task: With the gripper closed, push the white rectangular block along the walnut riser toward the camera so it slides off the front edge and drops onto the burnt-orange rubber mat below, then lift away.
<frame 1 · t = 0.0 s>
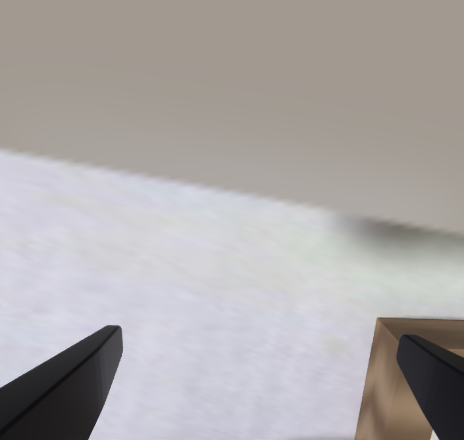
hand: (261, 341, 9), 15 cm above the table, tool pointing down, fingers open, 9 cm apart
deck: (431, 399, 27), on the table
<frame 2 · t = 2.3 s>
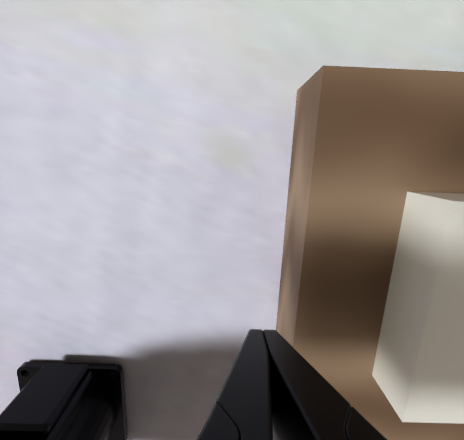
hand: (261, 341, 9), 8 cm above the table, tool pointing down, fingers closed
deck: (400, 259, 16), on the table
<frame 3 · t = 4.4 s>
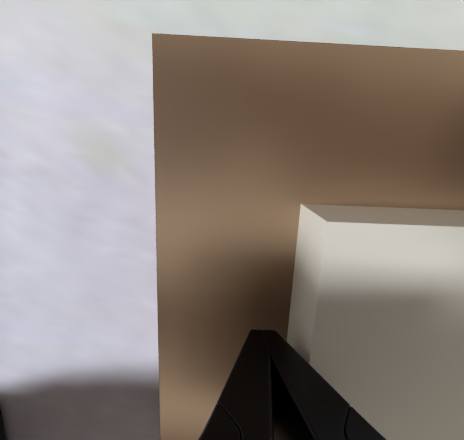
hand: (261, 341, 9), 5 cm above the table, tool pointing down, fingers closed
white rectangular block: (390, 355, 9), point 5 cm above the table, touching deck, gripper
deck: (318, 279, 14), on the table
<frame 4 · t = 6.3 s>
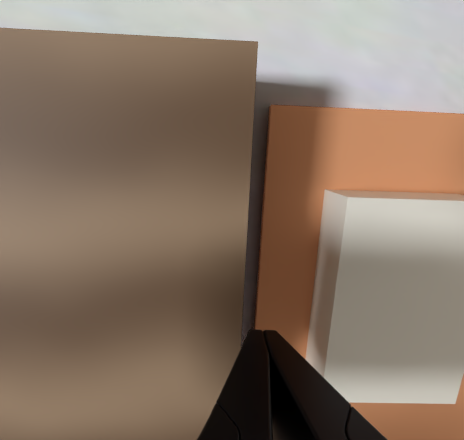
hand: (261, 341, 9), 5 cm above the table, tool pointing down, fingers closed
mat: (391, 299, 14), on the table
white rectangular block: (389, 296, 12), point 2 cm above the table, tilted 180°, touching mat
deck: (95, 272, 13), on the table
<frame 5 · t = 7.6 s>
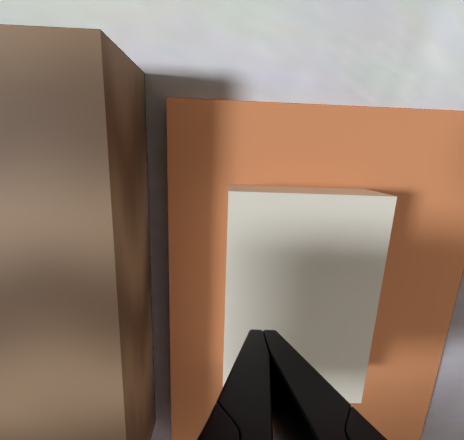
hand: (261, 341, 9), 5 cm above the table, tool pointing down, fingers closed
mat: (310, 297, 14), on the table
white rectangular block: (294, 293, 12), point 2 cm above the table, tilted 180°, touching mat
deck: (5, 269, 13), on the table
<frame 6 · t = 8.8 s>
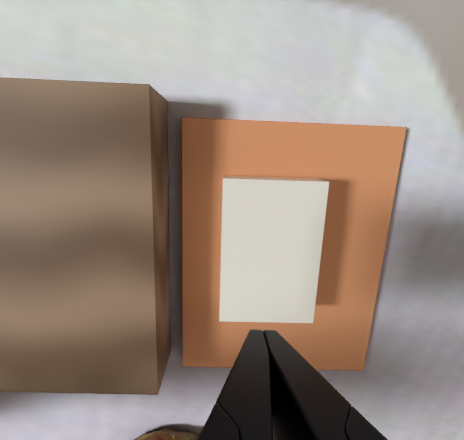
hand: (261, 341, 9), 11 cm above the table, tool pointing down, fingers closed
mat: (282, 256, 19), on the table
white rectangular block: (268, 249, 17), point 2 cm above the table, tilted 180°, touching mat
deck: (67, 235, 19), on the table
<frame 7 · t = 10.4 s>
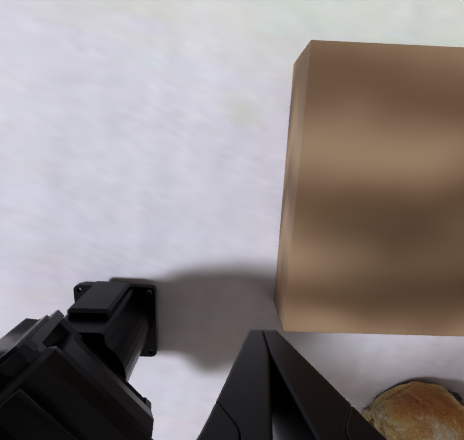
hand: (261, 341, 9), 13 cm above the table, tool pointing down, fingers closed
bread roll: (411, 415, 26), on the table
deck: (373, 198, 21), on the table
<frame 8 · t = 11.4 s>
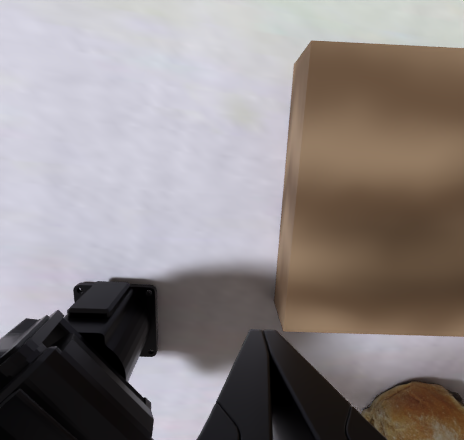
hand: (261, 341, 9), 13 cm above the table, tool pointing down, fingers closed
bread roll: (411, 415, 26), on the table
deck: (373, 198, 21), on the table
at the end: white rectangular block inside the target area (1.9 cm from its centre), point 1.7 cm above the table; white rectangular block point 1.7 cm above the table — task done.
